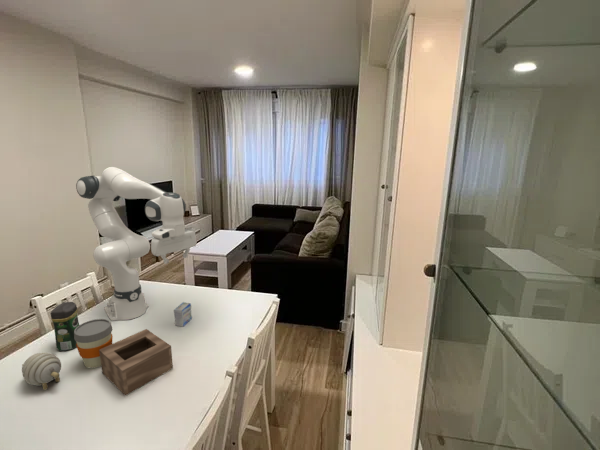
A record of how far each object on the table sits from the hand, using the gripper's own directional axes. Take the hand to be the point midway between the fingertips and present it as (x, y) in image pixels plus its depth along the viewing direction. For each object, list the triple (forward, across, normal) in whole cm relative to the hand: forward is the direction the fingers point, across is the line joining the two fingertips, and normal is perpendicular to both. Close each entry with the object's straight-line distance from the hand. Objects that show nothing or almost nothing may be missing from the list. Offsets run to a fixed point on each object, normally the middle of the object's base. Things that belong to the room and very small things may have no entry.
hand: (176, 260), depth 144 cm
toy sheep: (+34, +51, -6) cm, 62 cm away
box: (+34, +27, +13) cm, 45 cm away
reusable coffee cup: (+34, +34, -5) cm, 49 cm away
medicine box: (+34, -4, -4) cm, 35 cm away
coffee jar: (+34, +37, -25) cm, 56 cm away
